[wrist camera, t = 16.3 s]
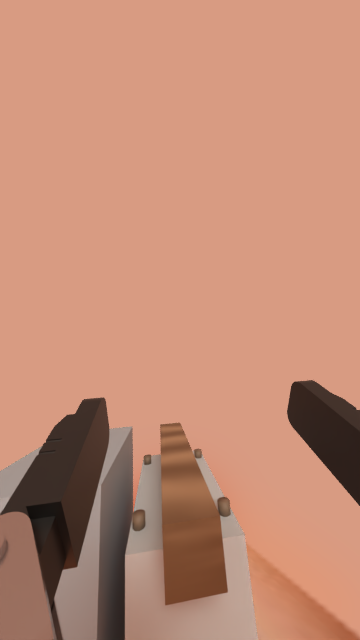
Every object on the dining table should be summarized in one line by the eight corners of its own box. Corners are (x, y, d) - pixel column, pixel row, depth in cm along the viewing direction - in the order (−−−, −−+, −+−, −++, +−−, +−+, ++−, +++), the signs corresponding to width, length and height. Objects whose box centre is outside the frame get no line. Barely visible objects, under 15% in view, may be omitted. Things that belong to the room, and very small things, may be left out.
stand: (40, 723, 26) (62, 433, 35) (219, 678, 28) (197, 419, 37) (-306, 1737, 7) (-58, 506, 15) (341, 1301, 9) (236, 467, 18)
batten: (161, 446, 39) (160, 424, 40) (181, 444, 39) (179, 422, 40) (165, 605, 12) (162, 525, 13) (227, 592, 13) (220, 515, 14)
